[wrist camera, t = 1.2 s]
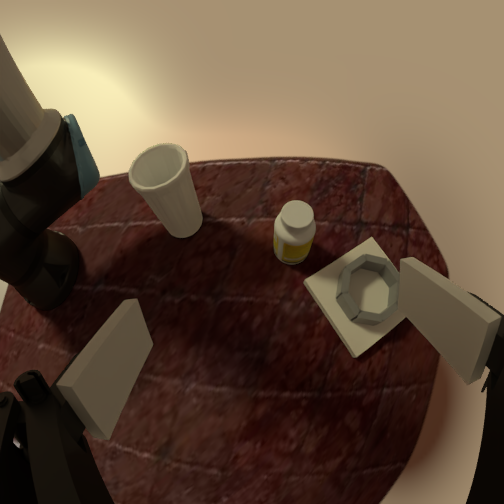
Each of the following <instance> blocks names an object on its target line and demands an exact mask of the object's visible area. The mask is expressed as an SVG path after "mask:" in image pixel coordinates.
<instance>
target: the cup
mask: <svg viewBox="0 0 504 504" xmlns="http://www.w3.org/2000/svg"><path fill="white" fill-rule="evenodd" d="M189 167H190V166H189V159H188V155H187V152H186V151H185V150H184V149H183V148H182V147H181V146H179V145H176V144H172V143H163V144H158V145H155V146H152V147H150V148H148V149H146V150H145V151H143V152H142V153H141V154H139V155H138V157H137V158H136V159H135V160H134V161H133V162H132V165H131V167H130V170H129V182H130V183H131V185H132V186H133V187H134V189H135V190H136V191H137V192H138V193H140V194H141V195H142V196H143V198H144V199H145V201H146V202H147V203H148V205H149V206H150V207H151V209H152V210H153V212H154V213H155V214H156V216H157V217H158V218H159V220H160V221H161V222H162V224H163V225H164V226H165V228H166V229H167V230H168V232H169V233H170V234H171V235H172V236H175V237H177V238H186V237H189V236H191V235H193V234H194V233H196V232H197V231H198V230H199V228H200V226H201V225H202V220H203V217H202V213H201V210H200V206H199V203H198V199H197V196H196V192H195V189H194V185H193V181H192V178H191V174H190V171H189Z"/></svg>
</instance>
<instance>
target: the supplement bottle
mask: <svg viewBox="0 0 504 504" xmlns="http://www.w3.org/2000/svg"><path fill="white" fill-rule="evenodd" d="M313 217H314V214H313V210H312V208H311V207H310V206H309V205H308V204H307V203H305V202H302V201H298V200H295V201H290V202H288V203H286V204H285V205H284V206H283V208H282V210H281V213H280V214H279V215H278V216H277V218H276V220H275V225H274V253H275V255H276V257H277V258H278V259H279V260H280V261H282V262H283V263H286V264H298V263H300V262H302V261H303V260H304V259H305V258H306V257H307V255H308V253H309V251H310V247H311V244H312V241H313V238H314V234H315V230H316V225H315V221H314V219H313Z"/></svg>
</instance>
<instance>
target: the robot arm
mask: <svg viewBox="0 0 504 504" xmlns="http://www.w3.org/2000/svg"><path fill="white" fill-rule="evenodd" d="M99 177H100V174H99V171H98V168H97V166H96V163H95V161H94V159H93V157H92V155H91V152H90V150H89V148H88V146H87V144H86V142H85V139H84V137H83V135H82V132H81V130H80V127H79V125H78V123H77V120H76V118H75V116H74V115H73V114H70V115H68V116H64V118H62V116H61V115H60V113H59V112H58V111H57V110H55V109H42V107H41V106H40V104H39V102H38V101H37V99H36V98H35V96H34V94H33V93H32V91H31V90H30V88H29V86H28V84H27V83H26V81H25V79H24V78H23V76H22V74H21V72H20V71H19V69H18V67H17V66H16V64H15V62H14V60H13V58H12V56H11V54H10V53H9V51H8V49H7V47H6V45H5V43H4V41H3V39H2V37H1V35H0V279H1V280H3V281H5V282H7V283H8V284H10V285H12V286H13V287H14V288H15V289H16V290H17V291H18V292H19V293H20V295H21V296H22V297H24V299H25V300H26V301H27V302H28V303H29V304H30V305H32V306H34V307H36V308H38V309H41V310H51V309H53V308H55V307H57V306H58V305H60V304H61V303H62V302H63V301H64V300H65V299H66V297H67V296H68V295H69V293H70V291H71V290H72V288H73V285H74V283H75V280H76V277H77V273H78V267H79V256H78V251H77V248H76V246H75V244H74V243H73V241H72V240H71V239H69V238H68V237H67V236H66V235H65V234H63V233H61V232H57V231H52V230H49V229H46V228H48V227H49V226H50V225H51V224H52V223H53V222H54V221H55V220H57V219H58V218H59V217H60V216H61V215H62V214H64V213H65V212H66V211H67V210H68V209H70V208H71V207H72V206H73V205H75V204H76V203H77V202H78V201H80V200H82V199H83V198H84V196H85V195H86V194H87V193H88V192H89V191H90V190H92V189H93V188H94V187H95V186H96V185H97V183H98V181H99ZM398 309H399V310H400V311H401V312H402V313H403V314H404V315H405V316H406V317H407V318H408V319H409V320H410V321H411V322H412V323H413V324H414V325H415V327H416V328H417V329H418V330H419V331H420V332H421V333H422V334H423V335H424V336H425V337H426V338H427V340H428V341H429V342H430V343H431V344H432V345H433V346H434V347H435V348H436V349H437V351H438V352H439V353H440V354H441V355H442V356H443V357H444V358H445V360H446V361H447V362H448V363H449V364H450V365H451V366H452V368H453V369H454V370H455V371H456V372H457V373H458V375H459V376H460V377H461V378H462V379H463V381H464V382H465V383H466V384H467V385H469V384H471V383H472V382H474V381H476V380H478V379H480V378H481V376H482V374H483V371H484V369H485V366H487V367H488V368H489V369H490V372H489V374H488V377H487V379H486V381H485V383H484V386H483V388H482V391H481V392H484V390H485V388H486V387H487V398H486V410H485V420H484V428H483V435H482V441H481V447H480V452H479V457H478V462H477V467H476V471H475V474H474V478H473V482H472V486H471V490H470V493H469V496H468V499H467V502H466V504H504V315H503V314H502V313H500V312H499V311H498V310H496V309H495V308H493V307H492V306H491V305H488V303H486V302H485V301H483V300H482V299H481V298H479V297H478V296H476V295H474V294H472V293H469V292H467V291H465V290H464V289H462V288H461V287H459V286H458V285H456V284H454V283H453V282H451V281H450V280H449V279H447V278H445V277H444V276H442V275H441V274H439V273H438V272H436V271H435V270H433V269H431V268H430V267H428V266H427V265H425V264H423V263H422V262H420V261H418V260H417V259H415V258H414V257H409V258H404V259H400V282H399V297H398ZM152 346H153V342H152V339H151V337H150V334H149V331H148V328H147V326H146V323H145V320H144V317H143V314H142V311H141V308H140V305H139V302H138V299H128V300H124V301H123V302H122V303H121V304H120V306H119V307H118V308H117V309H116V310H115V311H114V313H113V314H112V315H111V316H110V317H109V318H108V320H107V321H106V322H105V323H104V324H103V326H102V327H101V328H100V329H99V330H98V332H97V333H96V334H95V335H94V336H93V338H92V339H91V340H90V341H89V343H88V344H87V345H86V346H85V348H84V349H83V350H82V351H80V352H79V353H78V354H76V355H75V356H74V357H73V359H72V360H71V361H70V362H69V364H68V365H67V366H66V367H65V370H63V371H62V373H61V374H60V375H59V376H58V378H57V379H56V380H55V382H54V383H53V384H52V386H51V387H50V388H49V386H48V384H47V383H46V381H45V379H44V378H43V376H42V374H41V373H40V372H39V371H38V370H30V371H27V372H25V373H23V374H21V375H20V376H19V377H18V378H17V379H16V380H15V382H14V385H13V386H14V387H15V389H16V390H17V392H18V393H19V395H20V396H21V398H22V399H23V401H17V399H16V398H15V396H14V395H13V393H11V392H2V393H0V504H114V502H113V500H112V498H111V496H110V494H109V492H108V490H107V488H106V486H105V484H104V481H103V479H102V477H101V475H100V472H99V470H98V468H97V465H96V463H95V460H94V458H93V455H92V453H91V450H90V447H89V445H88V442H87V439H86V438H85V436H84V435H83V434H82V433H83V431H84V429H85V428H86V429H87V430H88V431H89V433H90V434H91V435H92V436H93V437H94V438H99V439H105V440H109V439H110V437H111V434H112V432H113V430H114V427H115V425H116V423H117V421H118V418H119V416H120V414H121V412H122V409H123V407H124V405H125V403H126V401H127V399H128V396H129V394H130V392H131V390H132V388H133V386H134V384H135V381H136V379H137V377H138V375H139V373H140V371H141V369H142V367H143V365H144V363H145V361H146V359H147V356H148V354H149V352H150V350H151V348H152ZM14 437H15V438H16V440H17V441H18V442H19V443H20V448H18V447H17V446H16V445H15V444H14V443H13V438H14Z"/></svg>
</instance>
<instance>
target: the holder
mask: <svg viewBox="0 0 504 504" xmlns="http://www.w3.org/2000/svg"><path fill="white" fill-rule="evenodd" d="M399 282H400V274H399V272H398V271H397V270H396V268H395V267H394V265H393V264H392V263H391V261H390V260H389V259H388V257H387V256H386V255H385V253H384V252H383V251H382V249H381V248H380V247H379V245H378V244H377V243H376V242H375V240H374V239H373V238H372V237H371V238H369V239H368V240H366V241H365V242H363V243H362V244H360V245H359V246H357V247H356V248H354V249H353V250H351V251H350V252H348V253H347V254H345V255H343V256H342V257H340V258H339V259H337V260H336V261H334V262H333V263H331V264H329V265H328V266H326V267H325V268H323V269H322V270H320V271H318V272H317V273H315V274H314V275H312V276H310V277H309V278H307V279H306V280H305V281H304V285H305V286H306V288H307V289H308V291H309V292H310V293H311V295H312V296H313V298H314V299H315V301H316V302H317V304H318V305H319V307H320V308H321V310H322V311H323V313H324V314H325V316H326V317H327V319H328V320H329V322H330V323H331V325H332V326H333V328H334V329H335V331H336V332H337V334H338V335H339V337H340V338H341V340H342V341H343V343H344V344H345V346H346V348H347V349H348V351H349V352H350V354H351V355H352V357H353V358H355V357H357V356H359V355H360V354H361V353H363V352H364V351H365V350H367V349H368V348H369V347H371V346H372V345H373V344H374V343H376V342H377V341H378V340H379V339H381V338H382V337H383V336H384V335H385V334H387V333H388V332H389V331H390V330H391V329H393V328H394V327H395V326H396V325H397V324H398V323H400V322H401V321H402V320H403V319H404V318H405V317H406V316H405V315H404V314H403V313H402V312H401V311H400V310H399V309H398V297H399Z"/></svg>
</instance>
